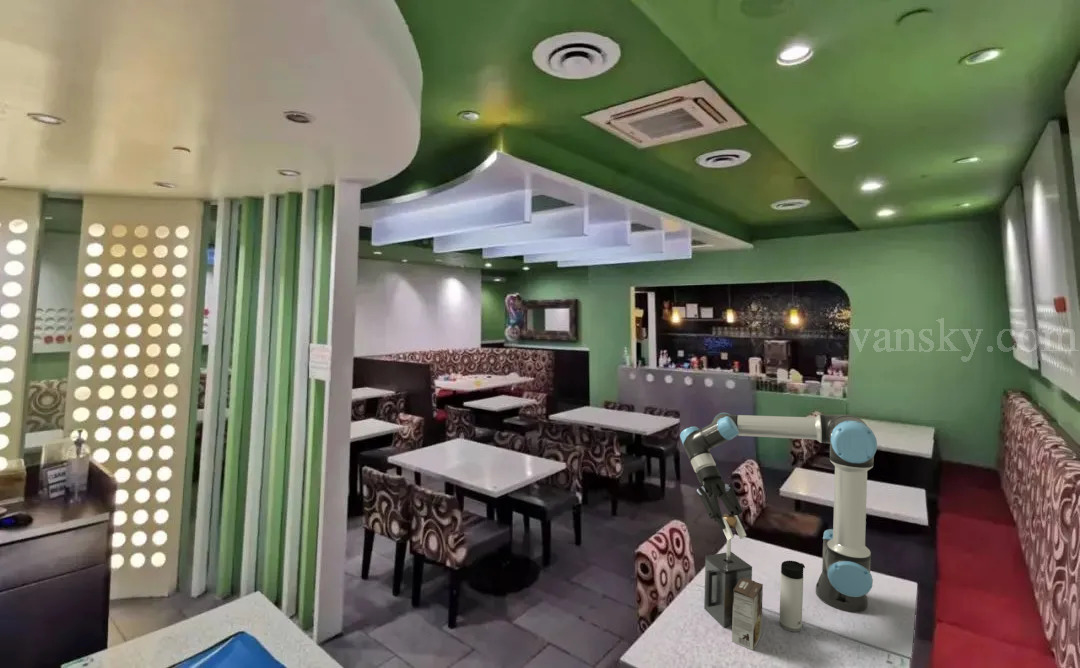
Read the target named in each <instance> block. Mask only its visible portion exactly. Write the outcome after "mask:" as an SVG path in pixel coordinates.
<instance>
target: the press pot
mask: <svg viewBox="0 0 1080 668" xmlns="http://www.w3.org/2000/svg"><path fill="white" fill-rule="evenodd" d="M726 555H727V551H726V552H721V553H720V552H719V553H714V554H709V555H705V559H704V560H705V562H704V563H705V566H704V573H705V574H704V606H703V609H704V610H705V611H706V613H708V614H709V615H710V616H711V617H712V618H713V619H714V620H715V621H716V623H717V622H718V624H719V625H720V626H721V627H723V629H724V628H729V627H732V622H733V589H734V588H735V586H736V585H737V583H738V582H739V580H740V579H741V577H744V578H747V579H750V580H753V566H752V565H750V564H749V563H747V562H746V561H745V560H744V559H742V558H740V556H738V555H737V554H735V552H733V551H731V555H730V563H726Z"/></svg>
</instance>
